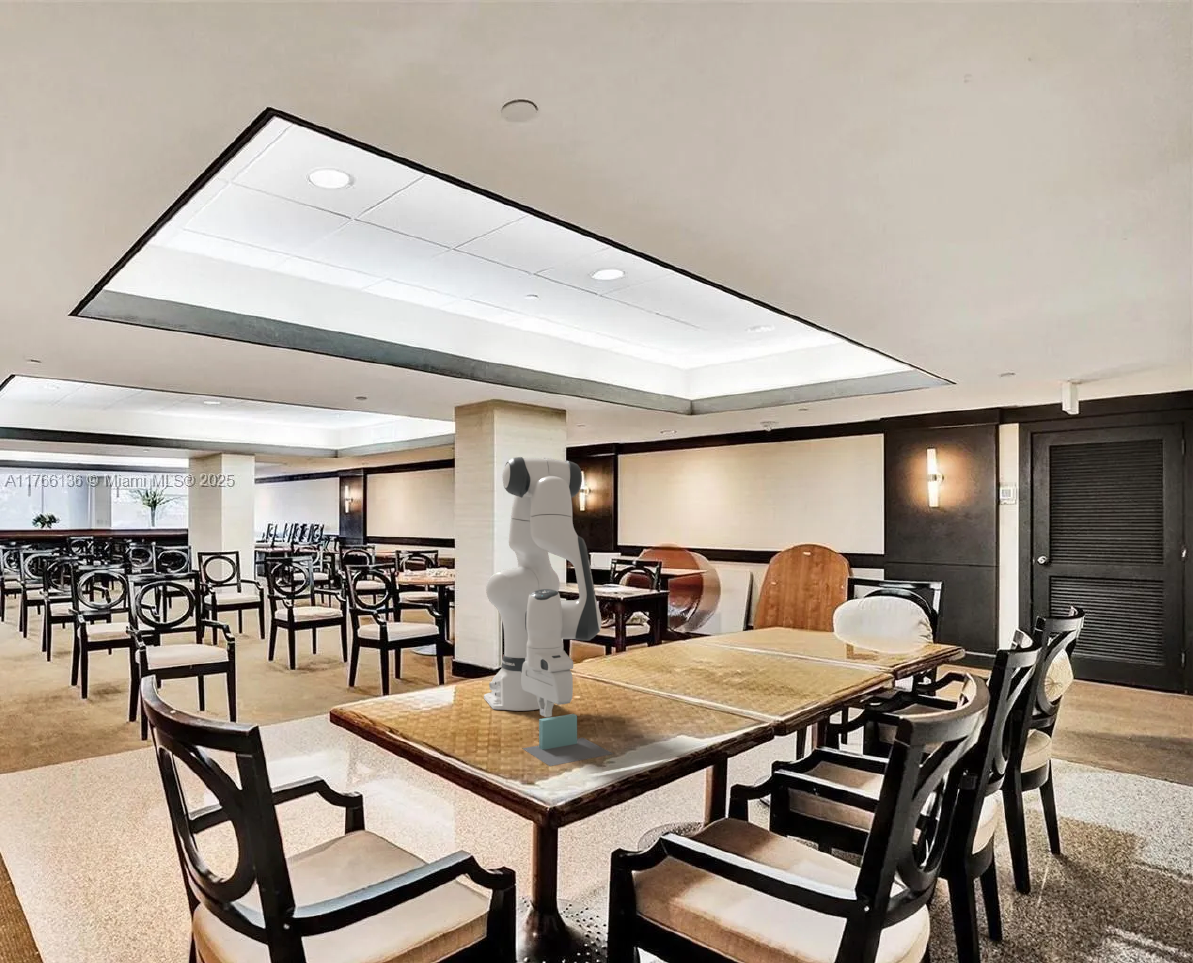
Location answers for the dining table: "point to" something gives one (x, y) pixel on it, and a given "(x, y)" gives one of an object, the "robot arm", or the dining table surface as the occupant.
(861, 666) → the dining table surface
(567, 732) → the box
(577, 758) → the mat
